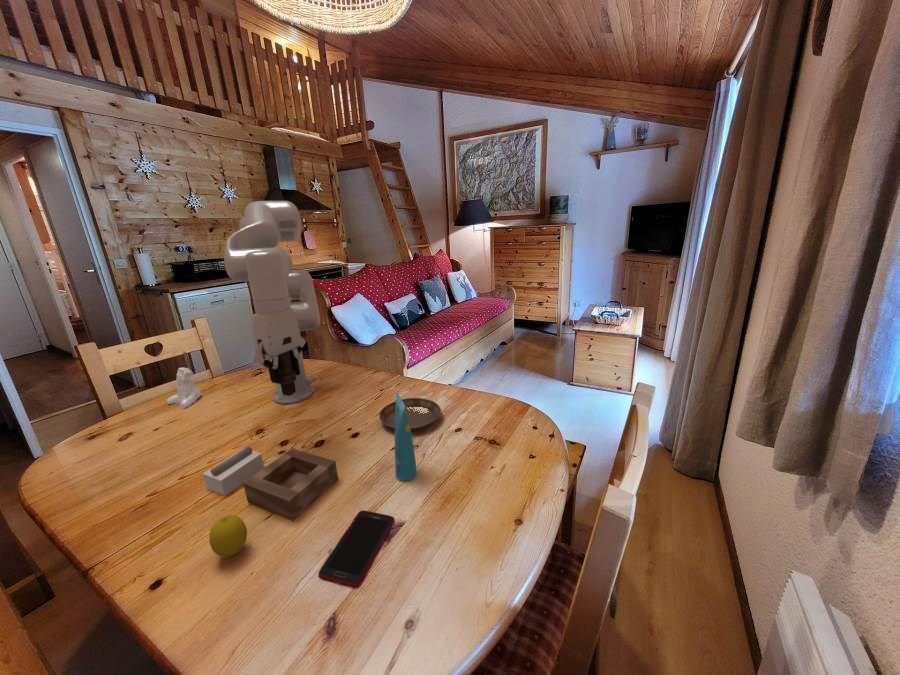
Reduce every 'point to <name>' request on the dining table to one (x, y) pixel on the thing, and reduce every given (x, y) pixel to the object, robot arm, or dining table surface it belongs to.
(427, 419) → the plant saucer
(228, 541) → the lemon
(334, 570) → the cell phone
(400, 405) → the tube
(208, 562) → the dining table surface
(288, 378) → the bolt
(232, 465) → the pin mount
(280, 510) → the socket
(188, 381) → the seated beast figurine
